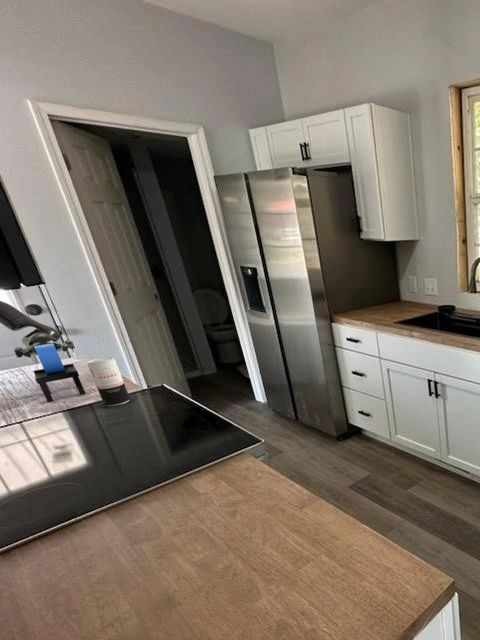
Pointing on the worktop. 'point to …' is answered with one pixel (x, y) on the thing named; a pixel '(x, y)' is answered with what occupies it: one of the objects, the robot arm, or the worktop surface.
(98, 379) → the beverage can
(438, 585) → the worktop surface
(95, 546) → the worktop surface
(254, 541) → the worktop surface
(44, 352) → the tape roll
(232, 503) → the worktop surface
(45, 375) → the tape rack
